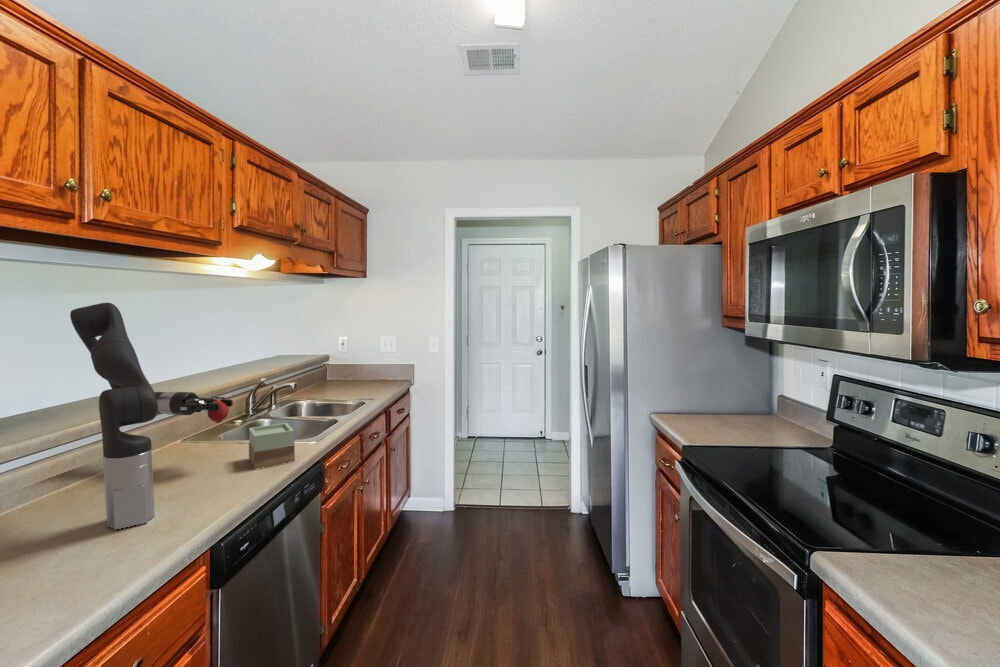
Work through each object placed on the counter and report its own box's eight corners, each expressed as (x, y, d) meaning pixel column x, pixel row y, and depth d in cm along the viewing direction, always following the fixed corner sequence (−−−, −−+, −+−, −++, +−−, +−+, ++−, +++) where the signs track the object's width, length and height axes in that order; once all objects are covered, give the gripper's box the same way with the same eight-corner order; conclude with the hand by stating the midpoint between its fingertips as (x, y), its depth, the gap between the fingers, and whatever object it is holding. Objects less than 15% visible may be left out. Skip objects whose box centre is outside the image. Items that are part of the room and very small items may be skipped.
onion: (218, 425, 143) (218, 401, 143) (203, 424, 144) (202, 400, 144) (233, 421, 149) (232, 397, 148) (218, 420, 150) (217, 396, 150)
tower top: (294, 445, 154) (294, 430, 154) (254, 452, 147) (254, 436, 146) (287, 436, 164) (286, 422, 163) (249, 442, 156) (249, 428, 156)
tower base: (294, 462, 154) (294, 445, 154) (255, 470, 147) (254, 452, 147) (286, 453, 164) (286, 437, 163) (249, 460, 156) (248, 443, 156)
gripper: (158, 396, 141) (208, 398, 139) (194, 388, 155) (240, 389, 153) (159, 420, 141) (209, 422, 139) (195, 409, 155) (241, 411, 153)
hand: (225, 405), depth 146 cm, fingers closed on onion, 5 cm apart
